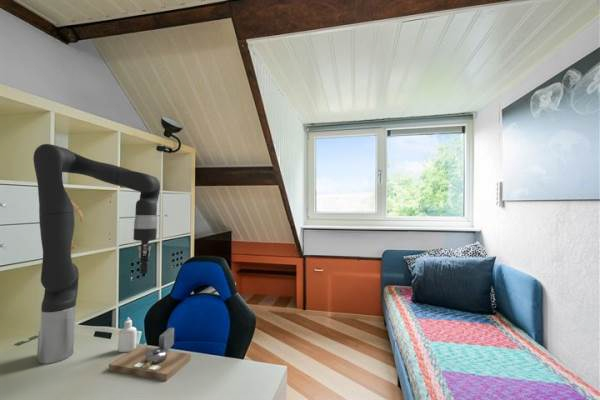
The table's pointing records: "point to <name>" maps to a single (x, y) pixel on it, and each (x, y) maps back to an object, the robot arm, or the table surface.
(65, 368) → the table surface
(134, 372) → the stand
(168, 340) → the lever
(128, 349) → the eye dropper bottle
